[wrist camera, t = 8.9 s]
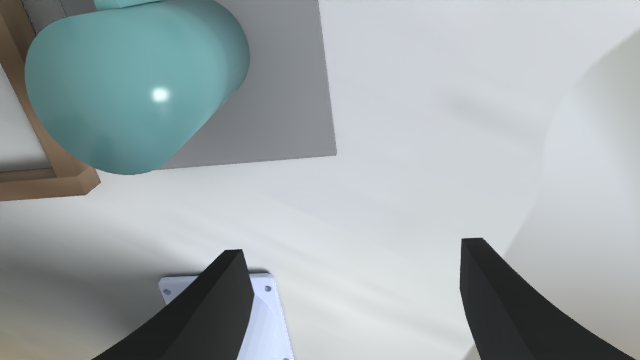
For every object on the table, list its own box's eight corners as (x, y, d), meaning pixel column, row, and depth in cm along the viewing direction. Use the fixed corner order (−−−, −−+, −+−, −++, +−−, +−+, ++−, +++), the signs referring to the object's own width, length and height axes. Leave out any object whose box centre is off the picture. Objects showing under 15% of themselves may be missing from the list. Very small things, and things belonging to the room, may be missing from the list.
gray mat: (336, 152, 22) (336, 155, 21) (131, 169, 23) (128, 172, 23) (303, -121, 16) (302, -122, 16) (37, -72, 18) (31, -73, 17)
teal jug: (258, 97, 20) (203, 169, 13) (165, 106, 21) (66, 179, 14) (229, -57, 17) (135, -69, 10) (120, -40, 18) (-38, -41, 11)
